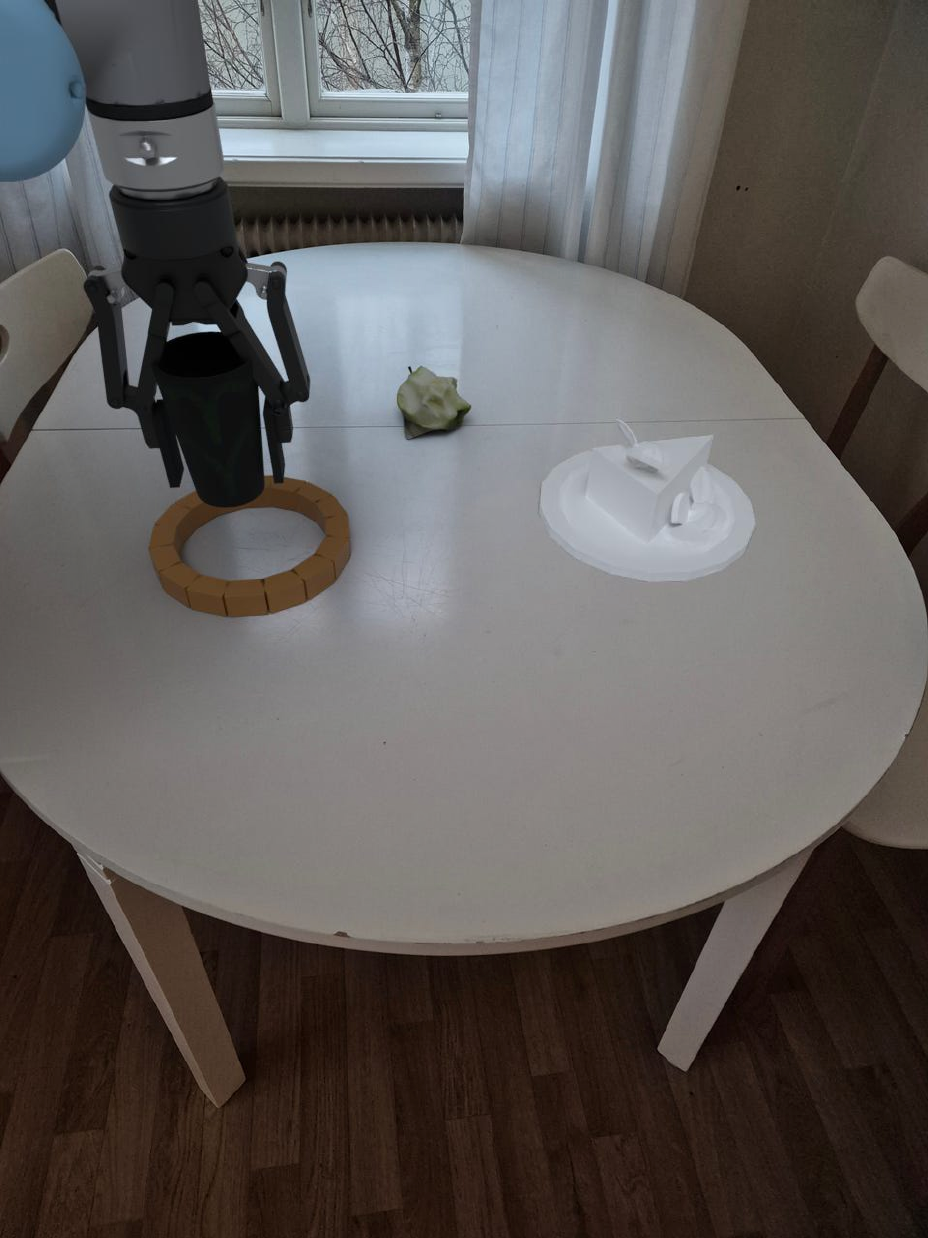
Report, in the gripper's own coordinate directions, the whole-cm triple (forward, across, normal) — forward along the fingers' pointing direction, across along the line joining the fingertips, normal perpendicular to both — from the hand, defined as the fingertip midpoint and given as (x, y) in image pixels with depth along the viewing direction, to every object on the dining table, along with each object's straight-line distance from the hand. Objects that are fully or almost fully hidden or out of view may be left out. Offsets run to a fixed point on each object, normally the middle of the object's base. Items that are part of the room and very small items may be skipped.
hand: (228, 475), depth 71 cm
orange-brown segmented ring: (+19, -2, +14) cm, 24 cm away
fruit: (+20, +20, +40) cm, 48 cm away
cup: (+1, 0, 0) cm, 1 cm away
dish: (+20, +43, +18) cm, 51 cm away
